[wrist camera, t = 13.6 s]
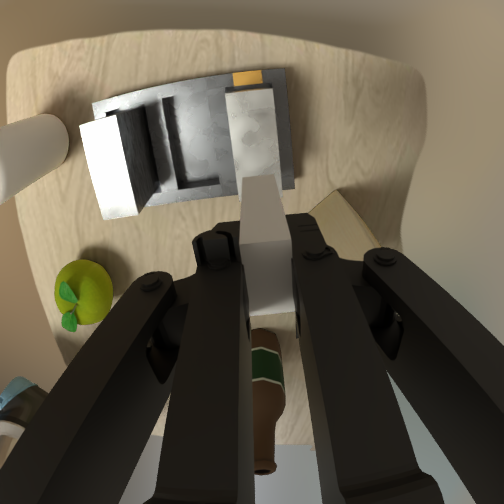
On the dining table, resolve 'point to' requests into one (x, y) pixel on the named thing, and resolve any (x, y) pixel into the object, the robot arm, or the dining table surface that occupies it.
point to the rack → (174, 142)
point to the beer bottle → (266, 397)
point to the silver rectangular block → (253, 134)
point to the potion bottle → (30, 152)
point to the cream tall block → (343, 228)
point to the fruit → (83, 293)
